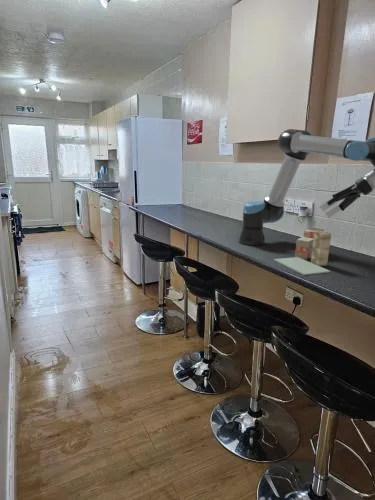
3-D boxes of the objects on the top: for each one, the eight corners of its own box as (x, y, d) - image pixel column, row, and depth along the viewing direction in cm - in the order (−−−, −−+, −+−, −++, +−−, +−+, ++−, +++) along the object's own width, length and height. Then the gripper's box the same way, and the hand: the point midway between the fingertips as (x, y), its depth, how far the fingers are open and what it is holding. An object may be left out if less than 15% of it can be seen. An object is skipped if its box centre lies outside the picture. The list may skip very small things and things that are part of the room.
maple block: (310, 263, 153) (314, 231, 149) (319, 262, 154) (323, 231, 150) (318, 266, 148) (322, 234, 144) (326, 265, 150) (331, 233, 146)
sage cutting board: (274, 260, 156) (274, 259, 156) (297, 258, 160) (297, 257, 160) (304, 275, 136) (304, 273, 136) (330, 272, 140) (330, 271, 140)
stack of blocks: (306, 260, 158) (309, 235, 155) (294, 257, 162) (296, 233, 159) (321, 251, 174) (324, 228, 171) (309, 249, 178) (312, 227, 175)
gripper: (371, 181, 130) (323, 213, 139) (375, 197, 151) (333, 224, 159) (360, 167, 133) (313, 199, 142) (365, 185, 154) (324, 212, 162)
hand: (324, 212), depth 150 cm, fingers open, 13 cm apart
